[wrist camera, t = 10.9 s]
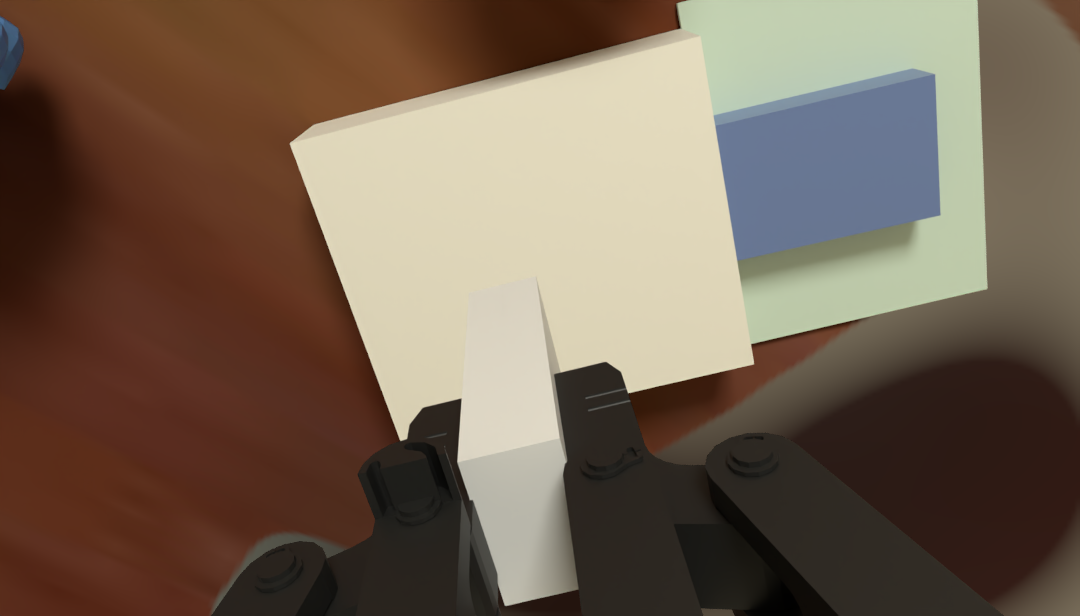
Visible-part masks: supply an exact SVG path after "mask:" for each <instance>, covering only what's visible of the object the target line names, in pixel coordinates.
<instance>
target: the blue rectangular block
mask: <svg viewBox="0 0 1080 616" xmlns="http://www.w3.org/2000/svg"><path fill="white" fill-rule="evenodd" d="M713 116H714V122H715V128H716V134H717V140H718V146H719V152H720V159H721V165H722V171H723V177H724V183H725V189H726V195H727V201H728V208H729V214H730V220H731V226H732V232H733V238H734V244H735V250H736V257H737V261H739V260H743V259H748V258H752V257H757V256H761V255H766V254H770V253H775V252H779V251H784V250H788V249H792V248H797V247H801V246H806V245H810V244H815V243H819V242H824V241H828V240H833V239H837V238H842V237H846V236H851V235H855V234H859V233H864V232H868V231H873V230H877V229H882V228H886V227H891V226H895V225H900V224H904V223H909V222H913V221H918V220H922V219H926V218H931V217H935V216H940V215H941V213H940V187H939V161H938V135H937V108H936V82H935V74H933V73H929V72H925V71H921V70H917V69H913V68H912V69H908V70H904V71H899V72H895V73H891V74H887V75H882V76H878V77H874V78H870V79H865V80H861V81H857V82H853V83H848V84H844V85H840V86H836V87H832V88H827V89H823V90H819V91H815V92H810V93H806V94H802V95H798V96H793V97H789V98H785V99H781V100H776V101H772V102H768V103H764V104H760V105H755V106H751V107H747V108H743V109H738V110H734V111H730V112H726V113H721V114H717V115H713Z"/></svg>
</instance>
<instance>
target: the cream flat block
mask: <svg viewBox="0 0 1080 616" xmlns="http://www.w3.org/2000/svg"><path fill="white" fill-rule="evenodd" d="M290 145H291V148H292V151H293V154H294V156H295V159H296V162H297V164H298V167H299V170H300V172H301V175H302V178H303V180H304V183H305V186H306V189H307V191H308V194H309V197H310V199H311V202H312V205H313V207H314V210H315V213H316V215H317V218H318V221H319V223H320V226H321V229H322V232H323V234H324V237H325V240H326V242H327V245H328V248H329V250H330V253H331V256H332V258H333V261H334V264H335V266H336V269H337V272H338V275H339V277H340V280H341V283H342V285H343V288H344V291H345V293H346V296H347V299H348V301H349V304H350V307H351V310H352V312H353V315H354V318H355V320H356V323H357V326H358V328H359V331H360V334H361V336H362V339H363V342H364V344H365V347H366V350H367V353H368V355H369V358H370V361H371V363H372V366H373V369H374V371H375V374H376V377H377V379H378V382H379V385H380V387H381V390H382V393H383V396H384V398H385V401H386V404H387V406H388V409H389V412H390V414H391V417H392V420H393V422H394V425H395V428H396V431H397V433H398V436H399V439H400V441H402V440H405V439H407V436H408V430H409V425H410V423H411V422H412V421H413V419H414V418H415V417H416V416H417V414H418V413H419V412H420V411H421V409H422V408H423V407H427V406H432V405H436V404H440V403H444V402H448V401H452V400H457V399H461V398H462V387H463V373H464V358H465V343H466V329H467V314H468V300H469V293H470V292H474V291H478V290H482V289H486V288H490V287H494V286H498V285H502V284H506V283H510V282H515V281H519V280H523V279H527V278H531V277H535V276H536V278H537V282H538V286H539V290H540V294H541V298H542V302H543V305H544V309H545V313H546V317H547V321H548V325H549V329H550V332H551V336H552V340H553V344H554V348H555V352H556V356H557V359H558V363H559V367H560V371H561V372H565V371H569V370H573V369H577V368H581V367H586V366H590V365H594V364H598V363H602V362H607V363H609V364H610V365H612V366H613V367H615V368H616V369H618V370H619V371H621V373H622V376H623V379H624V382H625V385H626V389H627V392H628V393H631V392H636V391H640V390H644V389H649V388H653V387H657V386H662V385H666V384H670V383H675V382H679V381H683V380H688V379H692V378H696V377H701V376H705V375H709V374H714V373H718V372H722V371H727V370H731V369H735V368H740V367H744V366H748V365H753V364H754V361H753V355H752V348H751V342H750V336H749V330H748V324H747V318H746V312H745V306H744V299H743V293H742V287H741V281H740V275H739V269H738V263H737V257H736V250H735V244H734V238H733V232H732V226H731V220H730V214H729V208H728V201H727V195H726V189H725V183H724V177H723V171H722V165H721V159H720V152H719V146H718V140H717V134H716V128H715V122H714V116H713V109H712V103H711V97H710V91H709V85H708V79H707V73H706V67H705V60H704V54H703V48H702V42H701V36H699V35H696V34H694V33H691V32H688V31H686V30H683V29H677V30H673V31H669V32H665V33H662V34H658V35H654V36H650V37H646V38H642V39H639V40H635V41H631V42H627V43H623V44H620V45H616V46H612V47H608V48H604V49H601V50H597V51H593V52H589V53H585V54H582V55H578V56H574V57H570V58H566V59H562V60H559V61H555V62H551V63H547V64H543V65H540V66H536V67H532V68H528V69H524V70H521V71H517V72H513V73H509V74H505V75H501V76H498V77H494V78H490V79H486V80H482V81H479V82H475V83H471V84H467V85H463V86H460V87H456V88H452V89H448V90H444V91H441V92H437V93H433V94H429V95H425V96H421V97H418V98H414V99H410V100H406V101H402V102H399V103H395V104H391V105H387V106H383V107H380V108H376V109H372V110H368V111H364V112H360V113H357V114H353V115H349V116H345V117H341V118H338V119H334V120H330V121H326V122H322V123H319V124H315V125H313V126H312V127H310V128H309V129H308V130H306V131H305V132H304V133H303V134H301V135H300V136H299V137H297V138H296V139H295V140H293V141H292V142H291V143H290Z"/></svg>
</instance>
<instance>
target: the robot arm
mask: <svg viewBox="0 0 1080 616" xmlns="http://www.w3.org/2000/svg"><path fill="white" fill-rule="evenodd" d="M358 477H359V479H360V482H361V484H362V487H363V489H364V492H365V494H366V497H367V500H368V502H369V505H370V507H371V510H372V512H373V515H374V517H375V524H374V529H373V534H372V536H371V537H369V538H368V539H366V540H365V541H363V542H361V543H359V544H357V545H356V546H354V547H352V548H349V549H347V550H345V551H343V552H341V553H338V554H336V555H334V556H332V557H330V558H327V557H326V555H325V553H324V551H323V549H322V548H321V547H320V546H318V545H317V544H315V543H313V542H302V541H299V542H294V543H290V544H284V545H282V546H279V547H276V548H275V549H272V550H270V551H268V552H266V553H265V554H263V555H262V556H260V557H259V558H257V559H256V560H255V561H253V562H252V563H250V565H249V566H248V567H247V568H246V569H245V570H244V571H243V572H242V573H241V574H240V575H239V577H238V578H237V580H236V581H235V582H234V584H233V585H232V587H231V588H230V590H229V591H228V592H227V594H226V595H225V597H224V598H223V600H222V601H221V603H220V604H219V606H218V607H217V608H216V610H215V611H214V613H213V614H212V615H211V616H501V613H500V610H499V607H498V586H499V589H500V592H501V594H502V598H503V601H504V604H505V606H507V605H512V604H516V603H521V602H524V601H529V600H533V599H538V598H542V597H547V596H551V595H556V594H560V593H564V592H568V591H573V590H577V589H579V596H580V603H581V610H582V616H703V614H702V610H701V608H709V609H732V610H733V613H734V615H735V616H1003V615H1002V614H1001V613H1000V612H999V611H998V610H996V609H995V608H994V607H993V606H991V605H990V604H989V603H988V602H987V601H985V600H984V599H983V598H982V597H981V596H979V595H978V594H977V593H976V592H975V591H973V590H972V589H971V588H970V587H968V586H967V585H966V584H965V583H963V582H962V581H961V580H960V579H959V578H958V577H956V576H955V575H954V574H953V573H952V572H950V571H949V570H948V569H947V568H945V567H944V566H943V565H942V564H941V563H939V562H938V561H937V560H936V559H935V558H933V557H932V556H931V555H930V554H929V553H927V552H926V551H925V550H924V549H923V548H921V547H920V546H919V545H918V544H917V543H915V542H914V541H913V540H912V539H910V538H909V537H908V536H907V535H906V534H904V533H903V532H902V531H901V530H900V529H898V528H897V527H896V526H895V525H894V524H892V523H891V522H890V521H889V520H888V519H886V518H885V517H884V516H883V515H882V514H880V513H879V512H878V511H877V510H876V509H874V508H873V507H872V506H871V505H869V504H868V503H867V502H866V501H865V500H863V499H862V498H861V497H860V496H859V495H857V494H856V493H855V492H854V491H853V490H851V489H850V488H849V487H848V486H846V485H845V484H844V483H843V482H842V481H840V480H839V479H838V478H837V477H836V476H834V475H833V474H832V473H831V472H830V471H828V470H827V469H826V468H825V467H824V466H822V465H821V464H820V463H819V462H818V461H816V460H815V459H814V458H813V457H811V456H810V455H809V454H808V453H807V452H805V451H804V450H803V449H802V448H801V447H799V446H798V445H797V444H796V443H794V442H792V441H790V440H788V439H786V438H785V437H783V436H779V435H774V434H769V433H747V434H743V435H739V436H735V437H731V438H729V439H727V440H725V441H723V442H721V443H720V444H718V445H716V446H715V447H714V448H713V449H712V451H711V452H710V453H709V454H708V455H707V459H706V465H677V464H673V463H669V462H665V461H662V460H660V459H658V458H656V457H655V456H653V455H652V454H651V453H650V452H649V451H648V450H647V448H646V446H645V444H644V441H643V438H642V435H641V432H640V429H639V426H638V422H637V419H636V416H635V413H634V410H633V407H632V404H631V401H630V398H629V395H628V392H627V389H626V385H625V382H624V379H623V376H622V373H621V371H619V370H618V369H616V368H615V367H613V366H612V365H610V364H609V363H607V362H602V363H598V364H594V365H590V366H586V367H581V368H577V369H573V370H569V371H565V372H561V371H560V367H559V363H558V359H557V356H556V352H555V348H554V344H553V340H552V336H551V332H550V329H549V325H548V321H547V317H546V313H545V309H544V305H543V302H542V298H541V294H540V290H539V286H538V282H537V278H536V276H535V277H531V278H527V279H523V280H519V281H515V282H510V283H506V284H502V285H498V286H494V287H490V288H486V289H482V290H478V291H474V292H470V293H469V300H468V314H467V329H466V343H465V358H464V373H463V387H462V398H461V399H457V400H452V401H448V402H444V403H440V404H436V405H432V406H427V407H423V408H422V409H421V411H420V412H419V413H418V414H417V416H416V417H415V418H414V419H413V421H412V422H411V423H410V425H409V430H408V436H407V439H405V440H402V441H399V442H397V443H394V444H391V445H389V446H387V447H385V448H383V449H382V450H380V451H378V452H376V453H375V454H373V455H372V456H371V457H370V458H369V459H368V460H367V461H366V462H365V463H364V464H363V465H362V467H361V469H360V471H359V473H358Z"/></svg>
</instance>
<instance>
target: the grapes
mask: <svg viewBox="0 0 1080 616" xmlns="http://www.w3.org/2000/svg"><path fill="white" fill-rule="evenodd" d="M23 51H24V45H23V38H22V36H21V34H20V32H19V29H18V28H17V27H16V26H14V25H13V24H12V23H10V22H9V21H8V20H6V19H4V18H3V17H1V16H0V89H2V90H5V88H6V87H7V85H8V83H9V82H10V80H11V79H12V77H13V75H14V73H15V71H16V70H17V68H18V66H19V64H20V61H21V58H22V54H23Z"/></svg>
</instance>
